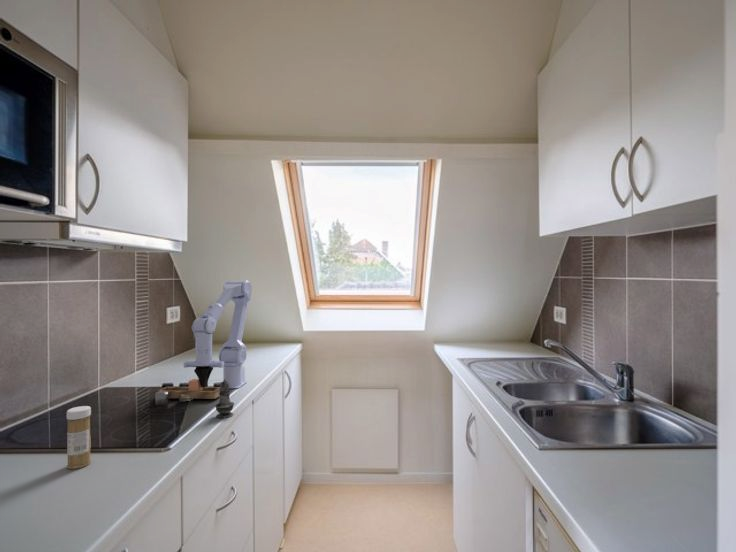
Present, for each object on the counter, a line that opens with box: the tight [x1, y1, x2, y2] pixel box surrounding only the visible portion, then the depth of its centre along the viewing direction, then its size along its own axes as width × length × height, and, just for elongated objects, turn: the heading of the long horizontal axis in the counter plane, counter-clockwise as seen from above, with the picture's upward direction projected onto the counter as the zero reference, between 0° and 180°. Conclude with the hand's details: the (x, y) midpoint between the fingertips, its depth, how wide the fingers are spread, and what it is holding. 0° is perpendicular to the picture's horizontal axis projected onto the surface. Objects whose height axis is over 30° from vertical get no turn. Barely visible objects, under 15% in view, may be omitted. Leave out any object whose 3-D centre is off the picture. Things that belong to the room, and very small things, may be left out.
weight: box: [154, 391, 169, 407], centre depth 135 cm, size 4×4×4 cm
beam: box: [155, 386, 220, 403], centre depth 140 cm, size 22×7×4 cm, turn 86°
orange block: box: [188, 378, 203, 391], centre depth 140 cm, size 4×3×4 cm
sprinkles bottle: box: [66, 405, 92, 470], centre depth 89 cm, size 5×5×14 cm
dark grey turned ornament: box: [214, 378, 235, 419], centre depth 122 cm, size 6×6×12 cm
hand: (204, 386), depth 140 cm, fingers closed
